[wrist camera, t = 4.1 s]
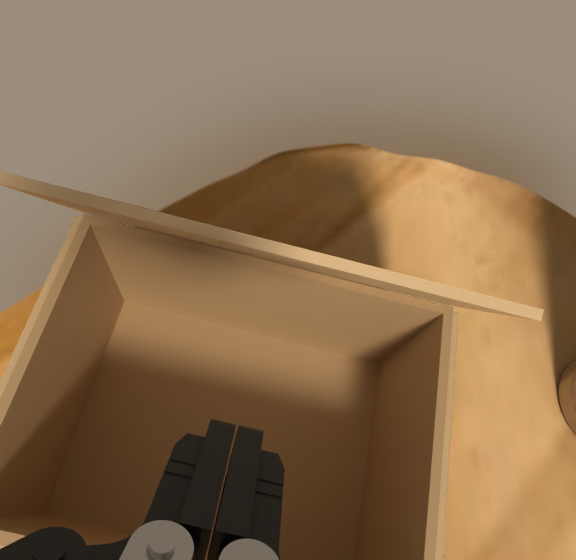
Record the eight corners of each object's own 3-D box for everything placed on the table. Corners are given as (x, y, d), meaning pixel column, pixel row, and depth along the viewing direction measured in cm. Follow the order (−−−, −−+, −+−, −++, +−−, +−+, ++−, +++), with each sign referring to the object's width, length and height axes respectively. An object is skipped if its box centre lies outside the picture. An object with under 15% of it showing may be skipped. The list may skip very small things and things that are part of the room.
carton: (388, 362, 44) (459, 308, 32) (359, 599, 37) (436, 652, 24) (117, 295, 43) (77, 212, 31) (28, 524, 36) (-74, 539, 23)
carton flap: (446, 304, 32) (448, 297, 32) (540, 321, 21) (543, 309, 21) (91, 215, 31) (93, 207, 31) (-7, 182, 20) (-4, 170, 20)
